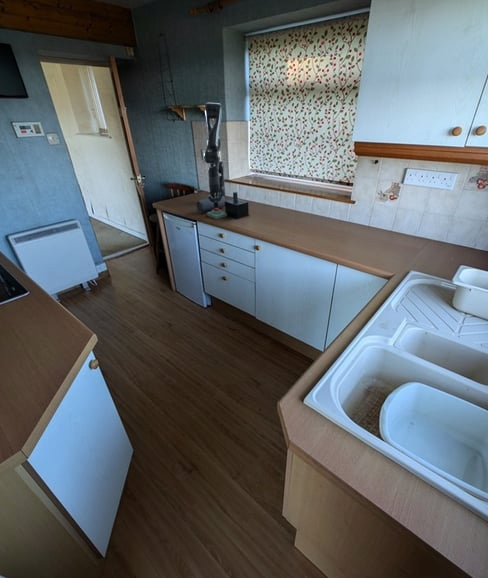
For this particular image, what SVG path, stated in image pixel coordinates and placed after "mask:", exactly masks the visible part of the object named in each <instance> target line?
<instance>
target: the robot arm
mask: <svg viewBox="0 0 488 578" xmlns="http://www.w3.org/2000/svg"><path fill="white" fill-rule="evenodd" d="M204 113H205V120H206V127H207V128H206V129H207V145H206V149H205V152H204V154H203V160H204V162H205V163H206V164H209V167H208V168H207V175H208V190H209V194H208V195H207V196H206V197H207V199H208V198H209V200H210V201H211V202H213V203H214V207H215V208H218V202H219V201H220V200H221V198H222V196H224V197H225V198H226V199H227V197H226V196H227V195H226V183H225V182H226V181H225V164H224V161H223V160H221V154H220V153H219V151H220V149H221V148H222V138H221V134H220V130H221V122H222V118H223V117H222V116H223V107H222V104H221V103H218V102H206V103H205V105H204ZM212 120H215V122H214V123H213V121H212Z"/></svg>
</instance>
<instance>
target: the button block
mask: <svg viewBox="0 0 488 578" xmlns="http://www.w3.org/2000/svg"><path fill="white" fill-rule="evenodd" d="M206 216H207V217H210V218H212V219H214V220H219V219H223V218H226V217H228V215H227V213H225V212H224V211H222V209H219V211H214V210H212V211H211V212H206Z"/></svg>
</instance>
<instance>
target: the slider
mask: <svg viewBox="0 0 488 578" xmlns="http://www.w3.org/2000/svg"><path fill="white" fill-rule="evenodd" d="M238 195H239V194H238V191H233V192H232V199H234V200H236V199H239V198H238V197H239V196H238Z"/></svg>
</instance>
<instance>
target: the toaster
mask: <svg viewBox="0 0 488 578" xmlns="http://www.w3.org/2000/svg"><path fill="white" fill-rule="evenodd" d="M224 211H225V212H224V213H227V217H231V218H233V219H236V220H238V219H242V218H246V217H249V216H250V213H249V201H246V200H242V199H239V198H238V199H236V200H234V199H233V198H232V199H229V200H226V201H225V207H224Z"/></svg>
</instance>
